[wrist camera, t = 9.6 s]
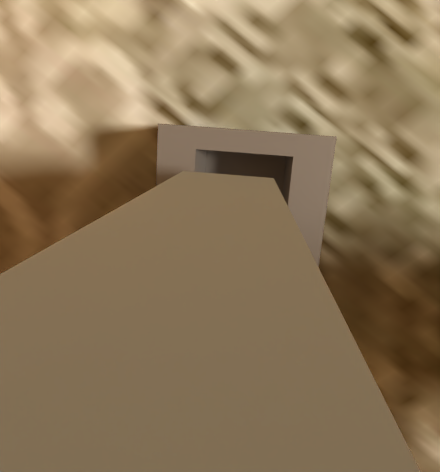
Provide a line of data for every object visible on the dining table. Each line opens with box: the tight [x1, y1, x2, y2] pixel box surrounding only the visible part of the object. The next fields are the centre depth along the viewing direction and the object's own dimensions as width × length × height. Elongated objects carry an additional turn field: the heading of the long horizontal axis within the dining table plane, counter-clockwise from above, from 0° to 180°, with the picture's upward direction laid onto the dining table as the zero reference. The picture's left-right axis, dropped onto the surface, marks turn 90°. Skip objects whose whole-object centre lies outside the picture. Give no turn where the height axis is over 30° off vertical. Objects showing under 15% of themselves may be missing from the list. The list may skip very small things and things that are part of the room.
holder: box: [156, 124, 336, 268], centre depth 21 cm, size 7×12×5 cm, turn 176°
